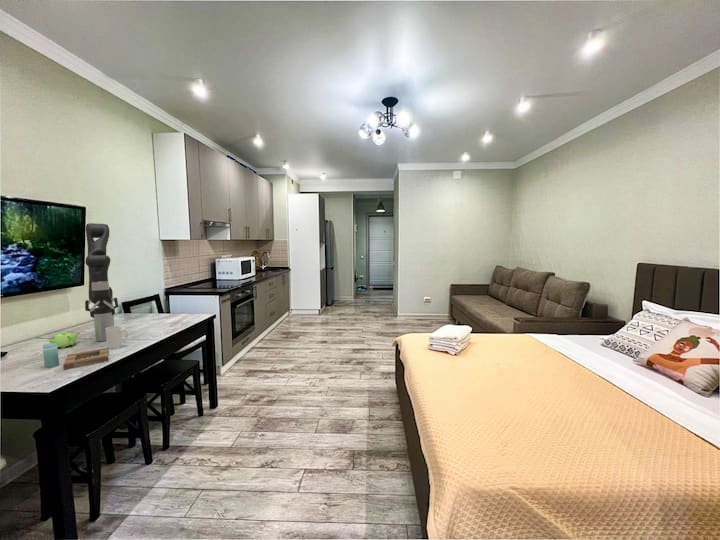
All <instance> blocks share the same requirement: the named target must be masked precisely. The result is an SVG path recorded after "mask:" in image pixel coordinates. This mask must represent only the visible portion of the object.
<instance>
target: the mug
mask: <svg viewBox="0 0 720 540" xmlns="http://www.w3.org/2000/svg"><path fill="white" fill-rule="evenodd" d="M122 332H124V333H125V337H124V339H122ZM128 338H129V331H128V330H127V329H126V328H122V326H121V325H114V326H112V327H108V328H106V339H107V341H106V348H109V350H115V349H114V348H117V349H119V348H118V347H120V348H122V346H123V345H122V343H125V342H127V340H128Z"/></svg>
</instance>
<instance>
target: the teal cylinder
mask: <svg viewBox="0 0 720 540" xmlns="http://www.w3.org/2000/svg"><path fill="white" fill-rule="evenodd" d="M42 351H43V352H42V353H43V361H44V363H43V364H44V368H45V369H50V368H56V367H57V366H60V359H59V348H58V346H57V343H50V342H49V343H46V344H45V343H44V344H42Z"/></svg>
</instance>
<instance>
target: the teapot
mask: <svg viewBox="0 0 720 540" xmlns="http://www.w3.org/2000/svg"><path fill="white" fill-rule="evenodd" d="M79 335H80V332H78V331H76V332H75V334H73V333H71V332H67V331H64V332H61V333H59V334H54V335H52V337H53V338H54V339H52V338H49V339H48V340H47V342H49V343H57V346H58V347H59V348H61V349H66V348H65V347H68V346H70V345H73V344H75V343H76V342H77V337H78V336H79ZM73 346H74V345H73Z"/></svg>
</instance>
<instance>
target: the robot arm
mask: <svg viewBox="0 0 720 540" xmlns="http://www.w3.org/2000/svg"><path fill="white" fill-rule="evenodd" d="M85 235H86V243H87V244H86V245H87V256H86V258H85V265H86V266H87V267H88V299H86V300H84V301H85V302H84V304H85V305H84V306H85V307H84V308H85V309H84V310H85V312H89V316H90V317H91V318H92V319H93V324H94V337H95V338H94V339H95V340H94V341H95V342H105V341H106V342H107V339H106V328H108V327H112V326H115V317H114V315H116V310H115V309H116V308H117V309H118V308H119V302H118V301H119V300H118V298H117V297H113V295H114V294H113V288H112V287H111V286H110V283H109V279H108V278H109V276H108V274H109V273H108V271H109V267H110V265H111V257H110V256H109V255H107V245H108V243H109V238H110V227H109V225H108V224H106V223H94V222H93V223H92V222H91V223H87V224H85ZM94 239H96V240H94ZM113 303H114V305H113ZM90 304H93V306H92V307H91V308H90V307H89V306H90Z"/></svg>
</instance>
